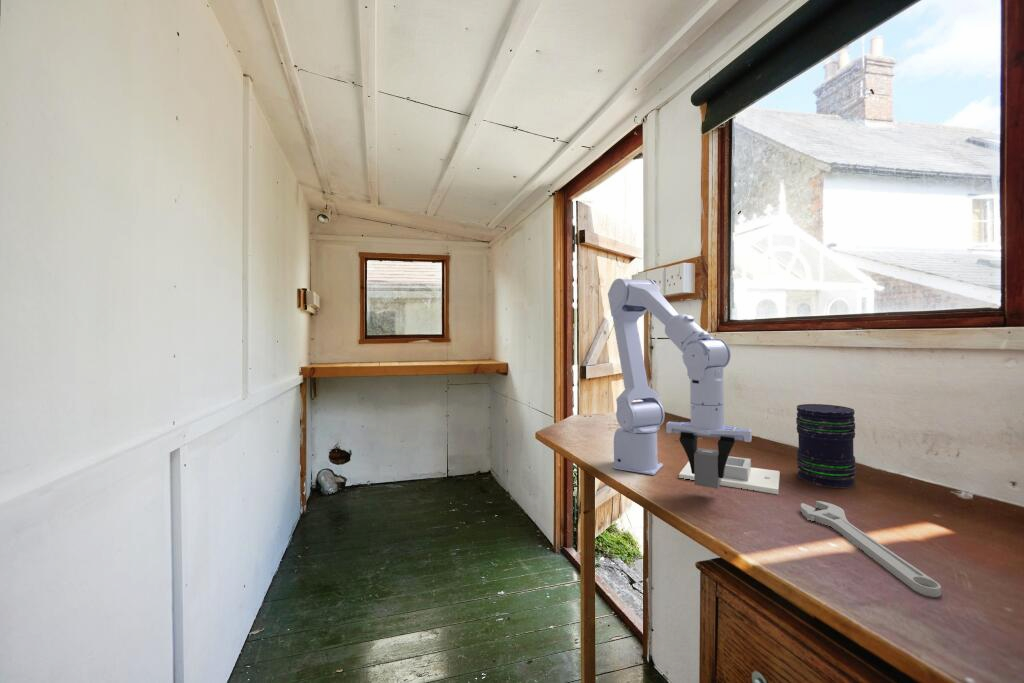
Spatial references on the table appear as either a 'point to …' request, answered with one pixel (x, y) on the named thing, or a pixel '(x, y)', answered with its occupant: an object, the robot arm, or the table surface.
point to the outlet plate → (743, 476)
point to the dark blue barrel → (826, 445)
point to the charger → (706, 468)
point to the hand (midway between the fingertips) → (707, 474)
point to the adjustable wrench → (872, 548)
